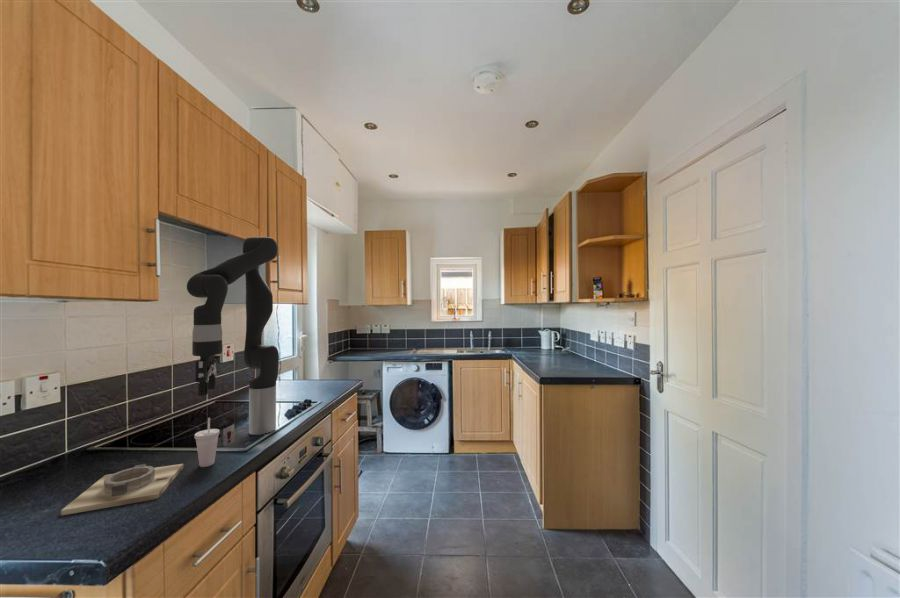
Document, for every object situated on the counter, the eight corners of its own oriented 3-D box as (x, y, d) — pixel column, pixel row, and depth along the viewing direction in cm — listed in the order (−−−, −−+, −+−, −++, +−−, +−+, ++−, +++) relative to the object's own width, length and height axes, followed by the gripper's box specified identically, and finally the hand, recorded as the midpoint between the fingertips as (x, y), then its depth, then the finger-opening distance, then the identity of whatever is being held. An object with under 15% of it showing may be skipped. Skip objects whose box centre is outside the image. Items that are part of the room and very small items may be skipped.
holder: (105, 479, 96) (105, 466, 96) (183, 467, 102) (183, 455, 103) (61, 515, 79) (61, 499, 79) (157, 498, 86) (158, 483, 86)
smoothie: (206, 469, 101) (206, 422, 101) (188, 468, 102) (188, 420, 103) (224, 460, 107) (225, 415, 108) (207, 458, 109) (208, 414, 109)
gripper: (215, 340, 100) (215, 396, 100) (227, 336, 114) (227, 385, 113) (184, 342, 98) (184, 399, 97) (200, 337, 111) (199, 388, 110)
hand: (207, 392), depth 105 cm, fingers open, 8 cm apart
